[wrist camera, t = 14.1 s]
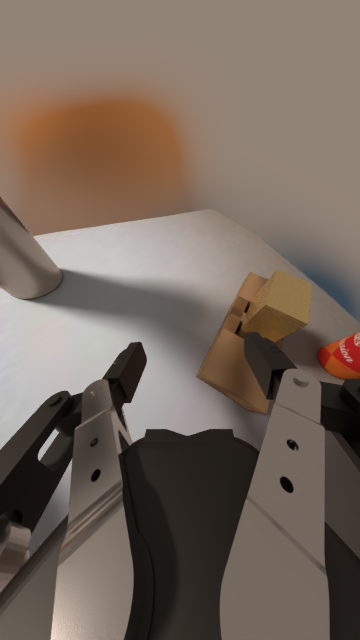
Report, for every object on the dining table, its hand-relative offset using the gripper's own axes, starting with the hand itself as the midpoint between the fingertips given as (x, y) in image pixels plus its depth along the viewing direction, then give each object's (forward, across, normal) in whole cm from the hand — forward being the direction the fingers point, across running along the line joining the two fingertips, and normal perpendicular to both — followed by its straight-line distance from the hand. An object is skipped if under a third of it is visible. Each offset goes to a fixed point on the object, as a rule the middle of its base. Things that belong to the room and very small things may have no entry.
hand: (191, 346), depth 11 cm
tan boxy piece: (+14, -9, +9) cm, 19 cm away
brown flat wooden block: (+14, -9, +9) cm, 19 cm away
